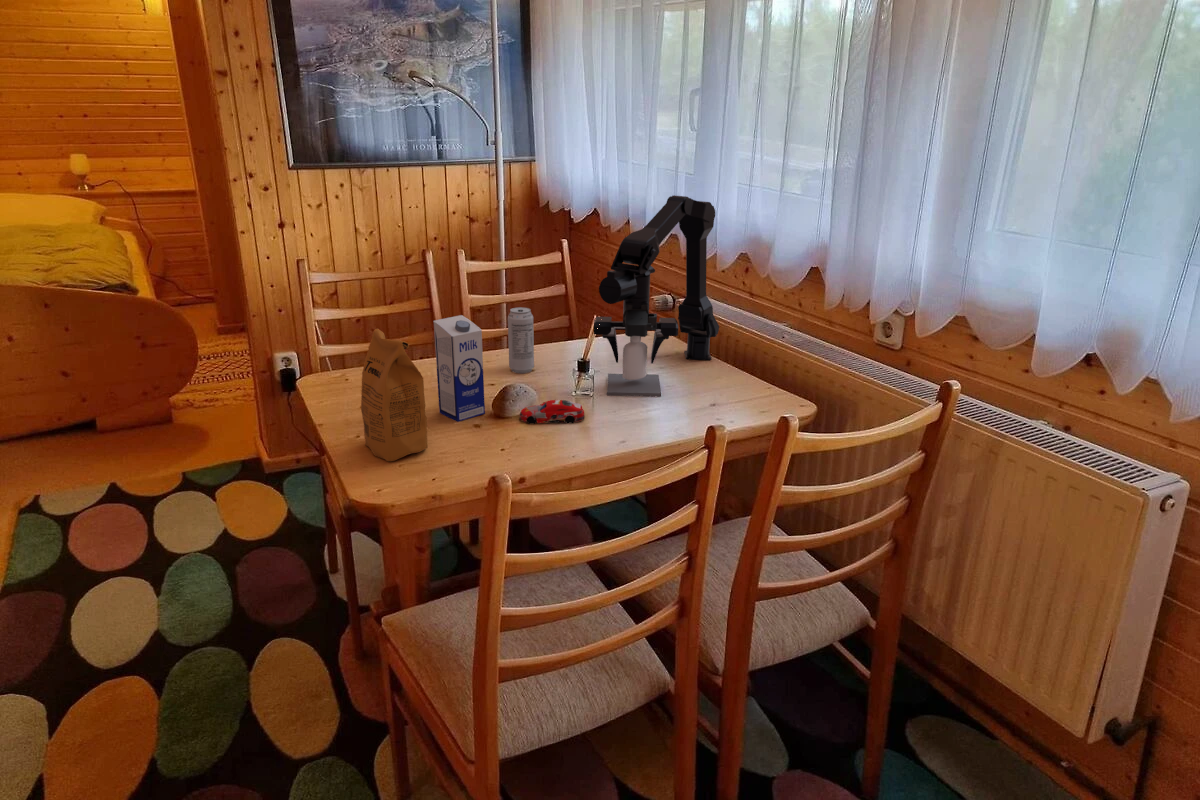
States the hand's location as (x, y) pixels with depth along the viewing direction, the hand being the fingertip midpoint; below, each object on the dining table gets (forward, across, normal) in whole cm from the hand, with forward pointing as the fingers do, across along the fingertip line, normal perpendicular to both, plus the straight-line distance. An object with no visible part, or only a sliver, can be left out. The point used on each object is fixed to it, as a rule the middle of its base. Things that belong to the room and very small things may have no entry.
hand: (634, 362), depth 176 cm
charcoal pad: (+6, 0, 0) cm, 6 cm away
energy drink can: (+6, -27, +10) cm, 29 cm away
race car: (+6, -17, -21) cm, 28 cm away
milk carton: (+6, -36, -19) cm, 41 cm away
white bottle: (+4, 0, 0) cm, 4 cm away
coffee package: (+6, -45, -37) cm, 59 cm away
